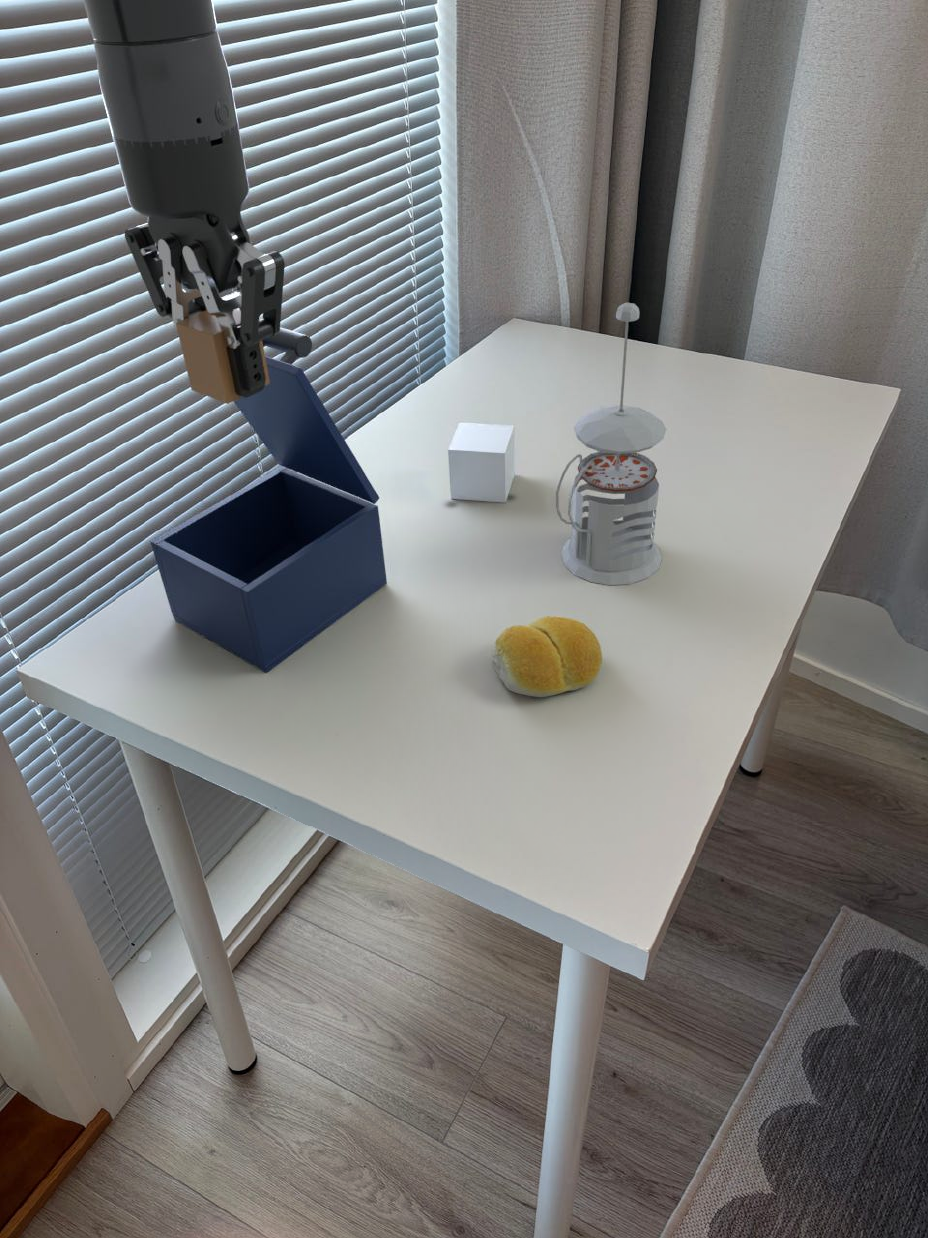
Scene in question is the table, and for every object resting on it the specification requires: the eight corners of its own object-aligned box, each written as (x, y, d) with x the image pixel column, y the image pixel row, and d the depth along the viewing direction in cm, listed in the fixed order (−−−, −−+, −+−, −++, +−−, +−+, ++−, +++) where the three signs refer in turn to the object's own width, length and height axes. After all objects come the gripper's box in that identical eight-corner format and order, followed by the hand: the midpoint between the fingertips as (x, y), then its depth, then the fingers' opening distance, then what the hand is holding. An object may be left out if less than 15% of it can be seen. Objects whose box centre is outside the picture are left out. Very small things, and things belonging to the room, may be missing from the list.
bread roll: (616, 683, 79) (620, 646, 76) (517, 712, 77) (516, 675, 74) (574, 624, 85) (576, 589, 82) (481, 649, 83) (479, 614, 80)
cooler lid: (295, 374, 71) (333, 328, 73) (188, 338, 78) (225, 296, 79) (375, 504, 85) (406, 463, 86) (278, 464, 91) (309, 426, 93)
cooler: (266, 673, 82) (247, 592, 76) (173, 619, 88) (149, 541, 82) (387, 583, 91) (378, 505, 85) (295, 541, 97) (281, 465, 92)
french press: (683, 557, 92) (716, 304, 76) (596, 606, 87) (611, 344, 71) (612, 515, 98) (628, 273, 82) (526, 558, 93) (526, 308, 77)
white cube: (450, 499, 102) (447, 449, 98) (462, 470, 107) (459, 422, 103) (505, 502, 101) (504, 452, 97) (515, 474, 106) (514, 425, 102)
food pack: (227, 404, 66) (212, 335, 63) (191, 390, 68) (175, 322, 65) (270, 383, 69) (257, 315, 65) (233, 370, 71) (220, 304, 68)
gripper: (53, 121, 59) (127, 380, 70) (200, 149, 52) (257, 432, 63) (152, 98, 63) (207, 344, 74) (300, 120, 56) (337, 390, 67)
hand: (229, 383), depth 68 cm, fingers closed on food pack, 4 cm apart
